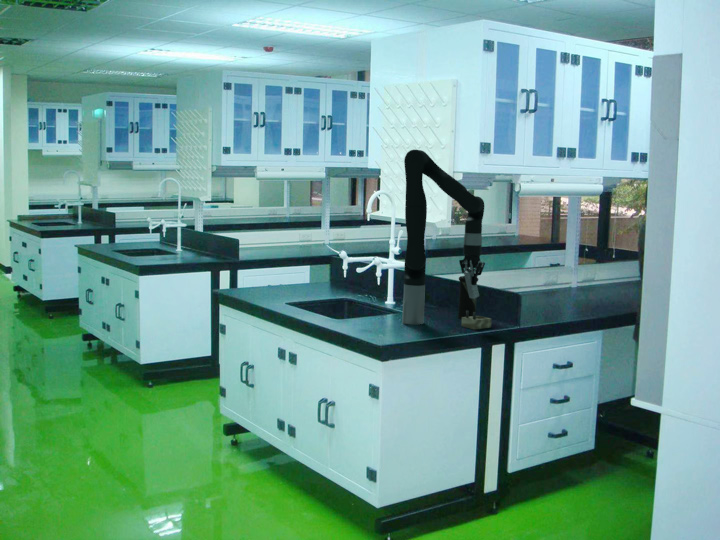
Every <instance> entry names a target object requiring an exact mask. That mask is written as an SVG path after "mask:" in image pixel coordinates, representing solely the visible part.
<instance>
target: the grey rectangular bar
mask: <svg viewBox="0 0 720 540" xmlns="http://www.w3.org/2000/svg"><path fill="white" fill-rule="evenodd" d="M463 276H465V280H466V284H467V289H468V293H469V298H473V299H475V298H476V299H477V298H478V297H480V293H479V288H478V283H477V284H476V285H472V271H471V270H470V269H469V270H466V271H465V272H464V273H463Z"/></svg>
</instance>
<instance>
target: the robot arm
mask: <svg viewBox="0 0 720 540" xmlns="http://www.w3.org/2000/svg"><path fill="white" fill-rule="evenodd" d="M403 162H404V174H405V204H404V205H405V208H404V212H405V213H404V214H405V215H404V217H405V229H406V236H407V237H406V238H407V239H406V240H407V241H406V251H405V255H404V269H403V270H404V271H403V272H404V273H403V300H402V312H401V313H402V315H401V316H402V318H401V319H402V320H401V321H402V324H403V325H410V326H411V325H412V326H419V325H420V324H421V325H423V324H424V321H425V320H424V319H425V297H426V296H425V293H426V265H427V256H426V247H425V235H426V226H427V224H426V223H427V211H428V210H427V209H428V208H427V205H428V203H427V198H426V196H427V195H426V193H425V190H424V185H423V175H424V176H426V177H428V178H429V179H430V180H432V181H433V182H434V184H435V185H436V186H437V187H438V188H440V190H442V192H444V194H447V196H449V197H450V198H451V199H453V200H454V201H456V203H457V204H459V206H460V207H461V208H463V210H464V211H466V212H467V219H466V220H465V222H464V236H463V249H462V251H463V252H462V254H463V255H464V257H463V258H462V259H459V261H458V262H459V266H460V270H461V273H462V274H464V272H465V271H466V270H469V269H470V270H471V271H472V285H476V284H477V285H478V282H477V278H478V276H481V275H482V273H483V270H484V267H485V265H486V263H485V262H483V261H481V256H482V246H483V243H482V242H483V236H482V232H483V231H482V230H483V218H484V214H485V201H484V200H483V198H482V197H480V196H476V195H474V194H472V193H471V192H470V191H469V190H468V189H467V187H466V186H464V185H463V184H462V183H461V182H459V181H458V180H457V179H455V178H454V177H453V176H451V175H450V174H449V173H447V172H446V171H445V170H443V168H441V167H440V166H439V165H438V164H437V163H436V162H435V161H434V160H433V159H432V158H431V157H430V156H429V154H428V153H426V151H424V150H421V149H410V150H409V151H408V152H406V154H405V156H404V161H403ZM465 282H466V280H465Z"/></svg>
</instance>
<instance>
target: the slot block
mask: <svg viewBox="0 0 720 540" xmlns="http://www.w3.org/2000/svg"><path fill="white" fill-rule="evenodd" d="M460 323H461V325H460V326H461V327H463V328H467V329H471V330H481V329H482V330H483V329H489V328H492V318H491V317H486V316H483V315H477V311H476V312H473V316H470V317H469V311H466V317H462V319H461V322H460Z"/></svg>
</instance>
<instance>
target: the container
mask: <svg viewBox="0 0 720 540" xmlns="http://www.w3.org/2000/svg"><path fill="white" fill-rule="evenodd" d="M458 281H459V291H458V292H459V295H458V309H457V319H459V320H462V317H466V311H469V317H470V316H473V312H476V313H477V298H475V299H473V298H469V293H468V289H467V284H466V282H465V276H464V275H462V276H459V277H458ZM478 282H479V277H477V283H478Z"/></svg>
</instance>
